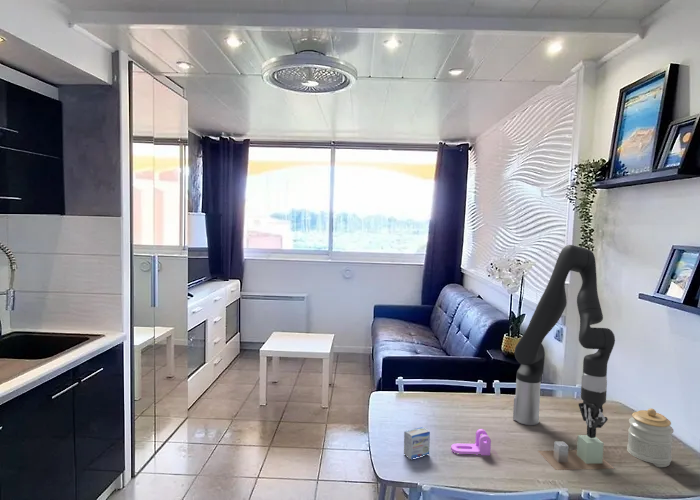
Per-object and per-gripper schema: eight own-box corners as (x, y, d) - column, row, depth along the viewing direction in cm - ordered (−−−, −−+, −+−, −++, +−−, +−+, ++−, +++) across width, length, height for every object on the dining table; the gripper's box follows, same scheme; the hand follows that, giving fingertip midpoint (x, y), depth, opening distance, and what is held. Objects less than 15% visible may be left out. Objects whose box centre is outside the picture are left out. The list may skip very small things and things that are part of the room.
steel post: (558, 462, 153) (559, 446, 152) (553, 457, 156) (554, 441, 156) (567, 462, 153) (568, 446, 153) (562, 457, 156) (563, 441, 156)
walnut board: (555, 474, 148) (555, 469, 148) (537, 454, 160) (537, 450, 160) (614, 472, 150) (614, 468, 150) (592, 453, 162) (592, 449, 162)
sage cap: (586, 463, 152) (587, 443, 152) (576, 454, 158) (577, 435, 157) (602, 463, 153) (603, 443, 152) (592, 454, 158) (593, 434, 158)
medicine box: (410, 461, 155) (411, 436, 154) (403, 454, 159) (403, 430, 158) (429, 455, 158) (430, 431, 158) (421, 449, 162) (422, 426, 162)
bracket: (485, 447, 165) (486, 428, 164) (490, 455, 159) (491, 436, 159) (449, 446, 165) (450, 428, 164) (452, 455, 159) (453, 435, 159)
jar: (654, 471, 151) (658, 419, 150) (618, 452, 163) (621, 404, 162) (679, 463, 156) (683, 413, 155) (642, 445, 168) (645, 399, 167)
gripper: (572, 379, 160) (569, 428, 161) (595, 394, 147) (592, 447, 148) (592, 379, 160) (589, 427, 162) (617, 394, 147) (614, 446, 148)
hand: (591, 436), depth 155 cm, fingers closed
